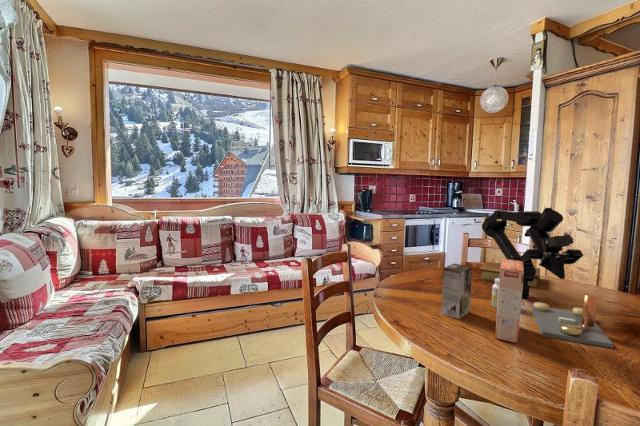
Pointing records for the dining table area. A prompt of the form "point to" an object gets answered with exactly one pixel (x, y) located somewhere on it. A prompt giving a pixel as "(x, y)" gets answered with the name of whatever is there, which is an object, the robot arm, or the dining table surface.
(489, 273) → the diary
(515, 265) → the cracker box
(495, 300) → the supplement bottle
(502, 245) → the robot arm
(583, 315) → the screw handle
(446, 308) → the coffee box
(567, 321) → the base
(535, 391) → the dining table surface
